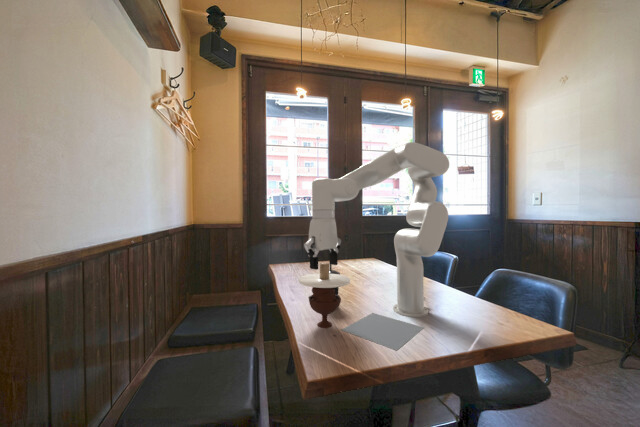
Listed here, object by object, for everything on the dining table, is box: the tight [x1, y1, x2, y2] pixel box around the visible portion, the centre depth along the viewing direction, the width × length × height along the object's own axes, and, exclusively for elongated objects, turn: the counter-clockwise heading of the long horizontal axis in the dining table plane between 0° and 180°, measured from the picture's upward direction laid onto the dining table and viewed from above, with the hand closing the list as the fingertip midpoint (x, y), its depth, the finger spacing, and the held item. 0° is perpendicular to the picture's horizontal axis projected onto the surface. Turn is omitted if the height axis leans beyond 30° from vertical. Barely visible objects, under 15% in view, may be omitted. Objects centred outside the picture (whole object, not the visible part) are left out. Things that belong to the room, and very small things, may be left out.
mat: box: [341, 312, 425, 351], centre depth 82 cm, size 19×19×1 cm
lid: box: [298, 262, 351, 288], centre depth 86 cm, size 17×17×6 cm
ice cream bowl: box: [307, 287, 342, 329], centre depth 86 cm, size 11×11×15 cm
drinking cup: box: [329, 263, 341, 295], centre depth 104 cm, size 8×8×20 cm
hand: (324, 266), depth 86 cm, fingers open, 9 cm apart
